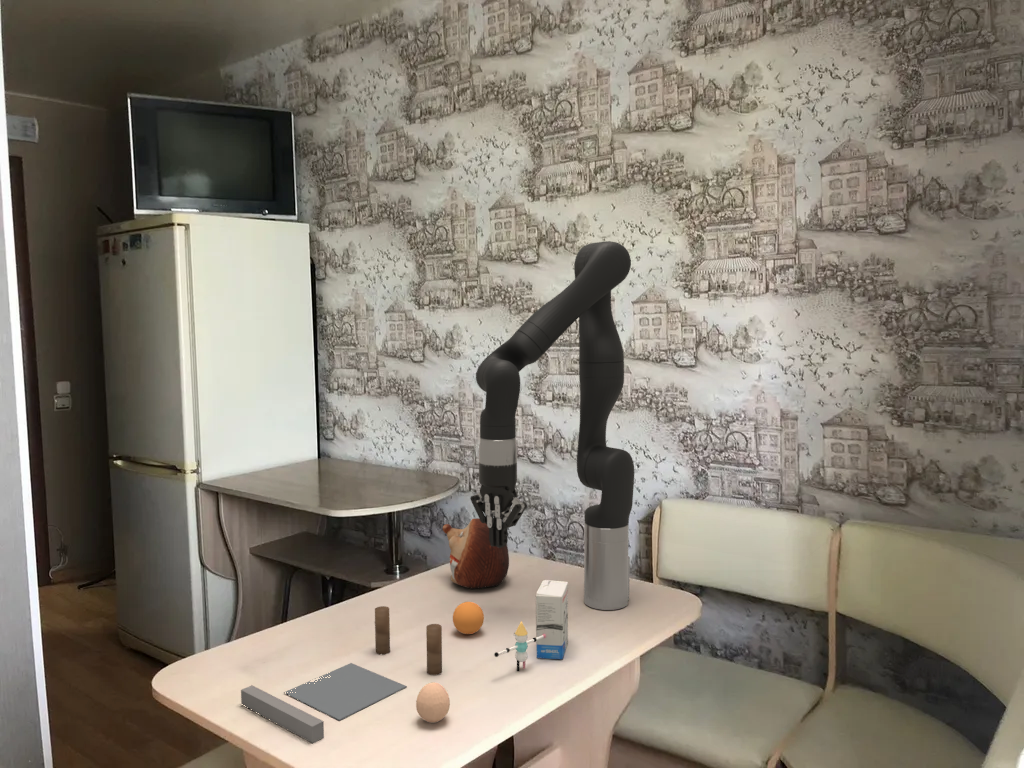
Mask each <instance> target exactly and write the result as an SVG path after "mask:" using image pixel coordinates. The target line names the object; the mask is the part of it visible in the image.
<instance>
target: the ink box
mask: <svg viewBox="0 0 1024 768" xmlns="http://www.w3.org/2000/svg"><path fill="white" fill-rule="evenodd" d="M568 589H569V582H568V581H563V580H553V579H551V580H550V579H544V580H542V581H541V584H540V586H539V587H538V589H537V591H536V592H535V593H536V595H535V624H536V625H535V632H536V634H535V635H536V637H535V638H537V637H539V636H542V635H543V634H545V635H546V638H542V639H539V640H536V642H535V643H536V645H535V646H536V658H537V659H551V660H560V661H561V660H563V659H564V656H565V652H566V648H567V646H568V643H569V638H568V637H569V631H568V630H569V629H568V628H569V623H568V621H569V617H568V615H569V613H568V610H569V608H568V607H569V606H568V605H569V603H568V602H569V601H568V599H569V598H568V597H569V595H568V594H569V590H568Z"/></svg>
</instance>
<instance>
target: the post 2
mask: <svg viewBox="0 0 1024 768" xmlns="http://www.w3.org/2000/svg"><path fill="white" fill-rule="evenodd" d="M425 628H426V629H425V630H426V635H425V636H426V673H427V674H428V675H430V676H437V675H440V674H442V673H443V641H442V639H443V637H442V636H443V633H442V631H443V629H442V624H439V623H430V624H427V625H426V627H425Z"/></svg>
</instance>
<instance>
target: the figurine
mask: <svg viewBox="0 0 1024 768" xmlns="http://www.w3.org/2000/svg"><path fill="white" fill-rule="evenodd" d="M442 532H443V533H444V534H446V536H447V537H446V538H447V540H448V546H449V549H450V555H449V566H450V571H451V572H450V573H451V575H450V579H451V582H452V583H454V584H456V585H458V586H460V587H464V588H467V589H471V590H478V589H479V590H480V589H484V588H493V587H498V586H500V585H501V584H502V583H503V582H504V579H506V577H507V576H508V570H509V569H510V568H509V567H510V556H509V554H510V553H509V548H508V543H507V544H506V546H505V547H502V548H498V547H497V546H495V547H494V546H491V543H490V541H489V527H488V526H487V524H486V523H482V522H481V521H480V519H479V517H478V518H476V517H475V518H471V520H470V521H469V523H468V524H467V526H466V527H465V528H455V527H452V525H451V524H450V523H446V524H444V525H443V526H442Z"/></svg>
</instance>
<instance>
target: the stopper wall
mask: <svg viewBox="0 0 1024 768" xmlns="http://www.w3.org/2000/svg"><path fill="white" fill-rule="evenodd" d="M240 699H241V700H240V701H241V703H240V704H243V705H245V706H246V707H248V708H250V709H252V710H253V711H252V710H251V711H252V712H254V711H255V712H257V713H259V714H260V716H261V715H262V716H261V717H263V716H264V717H263V718H265V717H266V718H265V719H267V720H268V719H270V720H271V721H270V720H269V721H270V722H272V723H274V722H275V723H274V724H276V723H277V724H276V725H278V726H280V727H281V728H283V727H284V728H283V729H285V728H286V729H285V730H287V729H288V730H287V731H289V732H291V733H293V734H295V735H297V736H299V737H301V738H302V739H304V740H306V741H308V742H309V743H311V744H314V743H316V742H318V741H320V740H321V739H325V727H324V722H325V721H323V720H322V719H320V718H318V717H316V716H314V715H312V714H310V713H308V712H306V711H304V710H302V709H301V708H298V707H296V706H294V705H292V704H291V703H288V702H287V701H284V700H282V699H281V698H278V697H277V696H274V695H273V694H271V693H268V692H267V691H265V690H263V689H260V688H259V687H256V686H255V685H252V684H251V685H249V686H247V687H245V688H242V689H241V690H240ZM246 707H245V708H246ZM248 708H247V709H248ZM250 709H249V710H250ZM255 712H254V713H255ZM257 713H256V714H257ZM259 714H258V715H259Z"/></svg>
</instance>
